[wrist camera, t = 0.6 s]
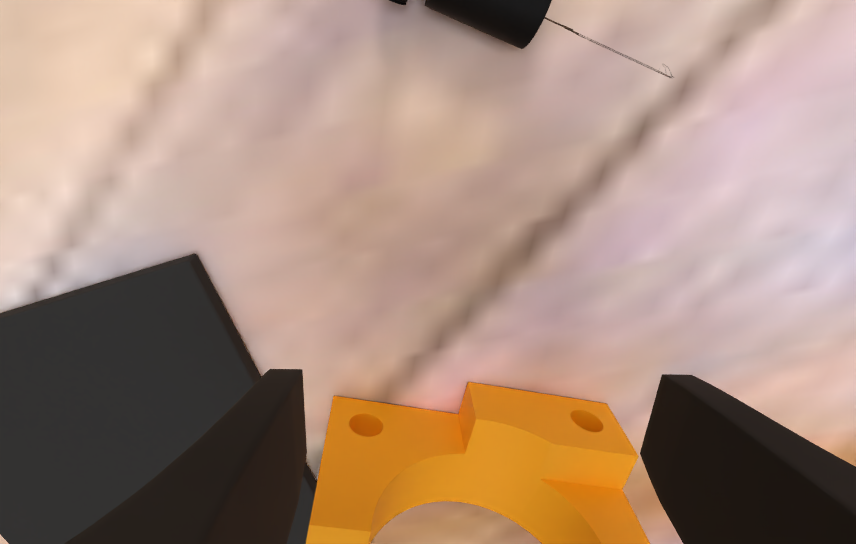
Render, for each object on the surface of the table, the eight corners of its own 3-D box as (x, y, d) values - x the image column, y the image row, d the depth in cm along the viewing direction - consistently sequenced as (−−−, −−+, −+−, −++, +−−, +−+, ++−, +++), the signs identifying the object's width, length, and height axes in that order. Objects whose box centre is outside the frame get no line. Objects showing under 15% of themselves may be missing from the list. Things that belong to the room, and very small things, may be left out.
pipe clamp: (606, 403, 22) (681, 527, 17) (574, 476, 24) (632, 612, 18) (340, 361, 21) (317, 482, 15) (325, 442, 22) (298, 580, 16)
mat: (373, 589, 26) (372, 604, 26) (129, 651, 27) (122, 667, 27) (196, 252, 19) (188, 260, 18) (-136, 355, 20) (-157, 366, 19)
